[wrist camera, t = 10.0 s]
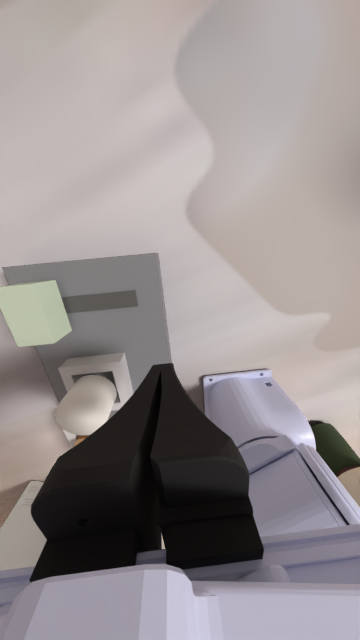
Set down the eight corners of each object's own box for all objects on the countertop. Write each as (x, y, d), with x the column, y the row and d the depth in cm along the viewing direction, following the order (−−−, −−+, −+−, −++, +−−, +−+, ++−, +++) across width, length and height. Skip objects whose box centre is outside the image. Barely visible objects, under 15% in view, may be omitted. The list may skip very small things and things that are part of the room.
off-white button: (111, 372, 17) (100, 394, 14) (120, 406, 19) (111, 432, 16) (67, 377, 17) (47, 400, 14) (80, 410, 18) (63, 437, 16)
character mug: (284, 419, 27) (378, 550, 15) (328, 402, 26) (465, 525, 14) (299, 458, 31) (385, 591, 18) (338, 444, 30) (455, 572, 18)
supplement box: (30, 478, 29) (-70, 635, 17) (76, 484, 30) (13, 634, 18) (28, 504, 31) (-61, 658, 19) (71, 508, 32) (12, 656, 20)
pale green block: (55, 279, 15) (31, 283, 13) (72, 330, 17) (54, 343, 14) (21, 283, 15) (-9, 287, 13) (41, 333, 17) (18, 347, 14)
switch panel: (158, 253, 18) (154, 251, 14) (180, 430, 27) (181, 461, 23) (24, 266, 18) (-20, 268, 14) (90, 441, 26) (76, 473, 22)
